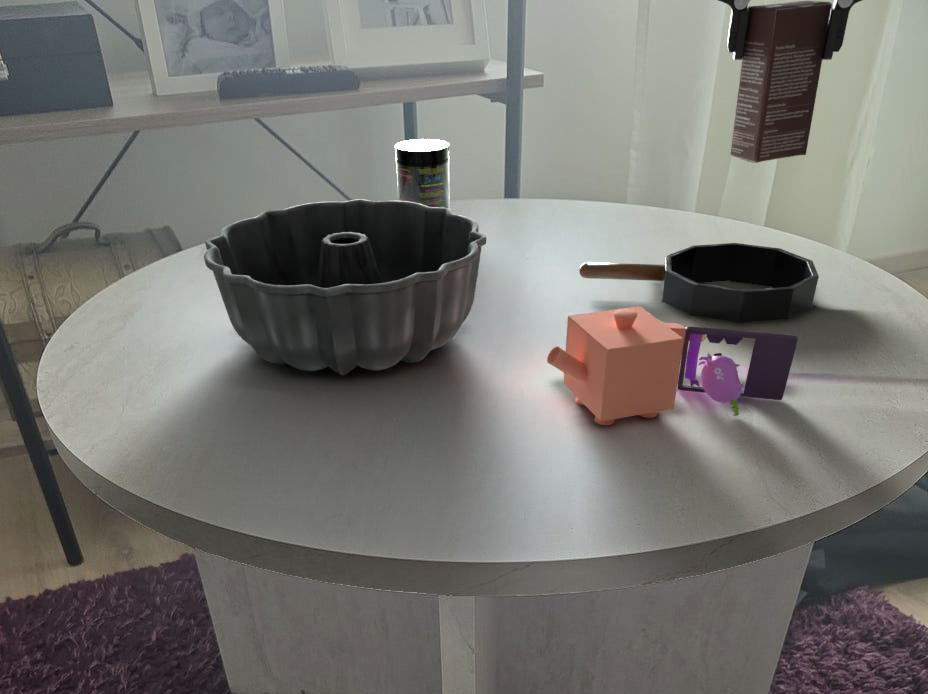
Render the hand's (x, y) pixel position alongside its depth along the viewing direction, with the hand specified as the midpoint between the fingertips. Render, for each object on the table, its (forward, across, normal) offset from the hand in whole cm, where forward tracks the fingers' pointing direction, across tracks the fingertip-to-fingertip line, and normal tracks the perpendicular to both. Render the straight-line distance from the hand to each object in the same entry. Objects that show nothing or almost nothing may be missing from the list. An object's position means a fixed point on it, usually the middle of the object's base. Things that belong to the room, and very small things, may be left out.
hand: (781, 58), depth 82 cm
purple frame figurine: (+23, -2, -23) cm, 33 cm away
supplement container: (+22, -39, +23) cm, 50 cm away
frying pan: (+23, -5, +2) cm, 23 cm away
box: (+8, 0, 0) cm, 8 cm away
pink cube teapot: (+23, -12, -25) cm, 36 cm away
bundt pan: (+22, -38, -14) cm, 46 cm away
